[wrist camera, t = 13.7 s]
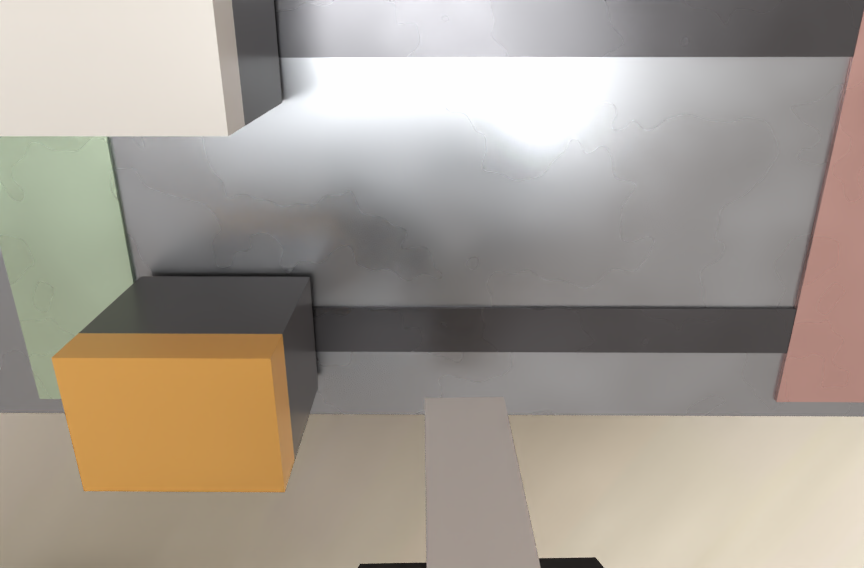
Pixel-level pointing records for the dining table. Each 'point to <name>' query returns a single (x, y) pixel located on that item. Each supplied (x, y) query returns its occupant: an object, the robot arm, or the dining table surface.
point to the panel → (496, 208)
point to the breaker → (136, 67)
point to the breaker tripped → (192, 385)
